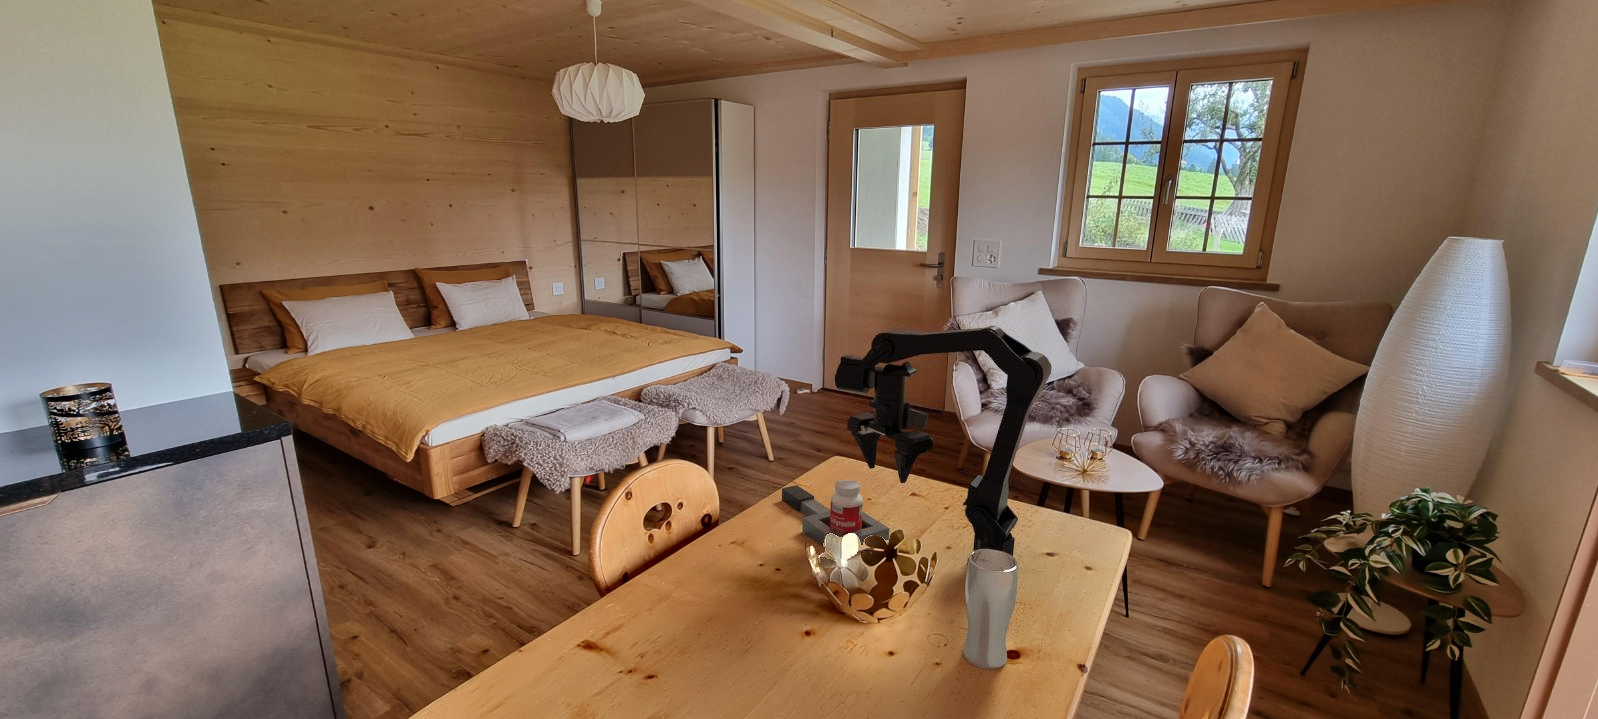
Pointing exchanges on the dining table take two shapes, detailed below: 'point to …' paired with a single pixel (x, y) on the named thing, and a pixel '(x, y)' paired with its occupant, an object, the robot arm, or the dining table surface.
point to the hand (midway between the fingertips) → (887, 475)
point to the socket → (826, 517)
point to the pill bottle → (846, 507)
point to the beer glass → (989, 606)
